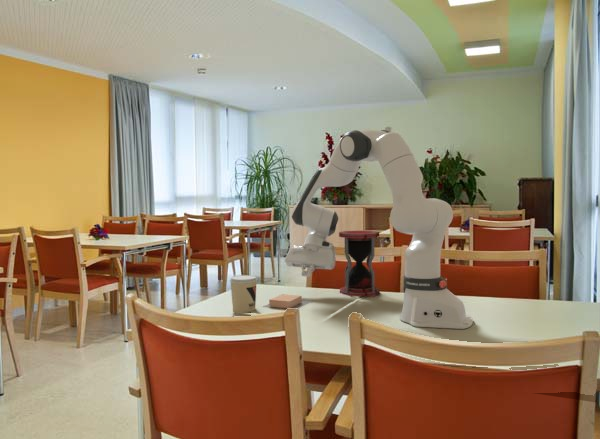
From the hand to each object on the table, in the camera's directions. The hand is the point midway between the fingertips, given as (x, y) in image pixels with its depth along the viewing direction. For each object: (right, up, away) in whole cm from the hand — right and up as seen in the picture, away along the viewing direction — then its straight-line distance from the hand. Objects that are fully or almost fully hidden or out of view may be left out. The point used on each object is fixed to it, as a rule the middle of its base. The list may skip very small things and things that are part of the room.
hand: (305, 275), depth 198 cm
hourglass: (+22, -8, +8) cm, 25 cm away
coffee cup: (-22, -11, -18) cm, 30 cm away
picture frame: (-5, -7, -9) cm, 13 cm away
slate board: (-6, -10, -11) cm, 16 cm away
